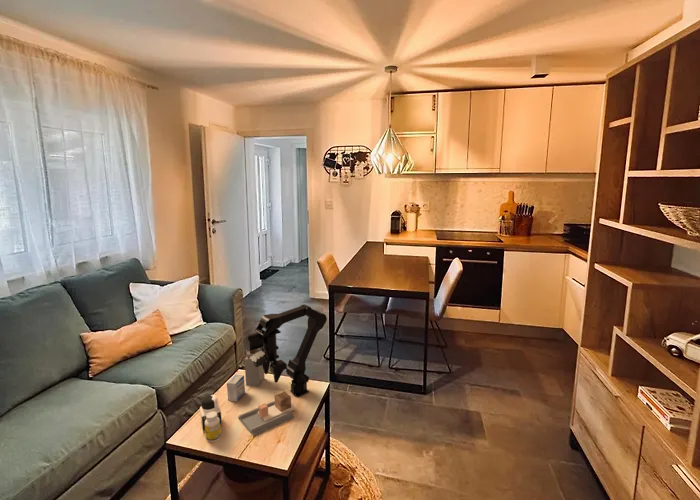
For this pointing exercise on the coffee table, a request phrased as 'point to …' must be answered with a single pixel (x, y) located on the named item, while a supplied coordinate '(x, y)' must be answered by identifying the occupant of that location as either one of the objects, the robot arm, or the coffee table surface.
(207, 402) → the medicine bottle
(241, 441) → the coffee table surface
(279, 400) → the walnut block
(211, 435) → the supplement bottle
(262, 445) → the coffee table surface
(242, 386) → the medicine box
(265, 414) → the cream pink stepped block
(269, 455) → the coffee table surface
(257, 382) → the perfume bottle
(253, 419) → the lane board
